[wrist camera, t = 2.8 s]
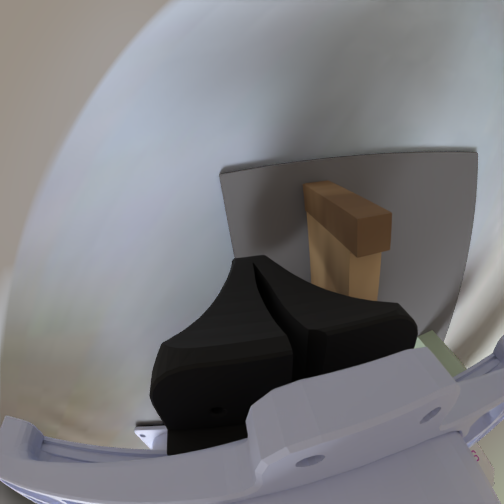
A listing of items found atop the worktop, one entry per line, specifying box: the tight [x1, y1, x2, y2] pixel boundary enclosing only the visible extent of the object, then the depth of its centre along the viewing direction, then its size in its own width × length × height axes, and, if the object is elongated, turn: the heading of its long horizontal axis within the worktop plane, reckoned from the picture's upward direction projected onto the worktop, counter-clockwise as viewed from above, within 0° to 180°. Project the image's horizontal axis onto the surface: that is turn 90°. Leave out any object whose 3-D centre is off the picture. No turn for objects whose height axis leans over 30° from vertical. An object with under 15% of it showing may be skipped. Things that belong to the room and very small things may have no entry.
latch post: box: [414, 330, 467, 377], centre depth 16 cm, size 2×2×6 cm
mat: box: [219, 152, 478, 342], centre depth 15 cm, size 16×16×1 cm
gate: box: [303, 180, 392, 301], centre depth 12 cm, size 10×1×5 cm, turn 9°
